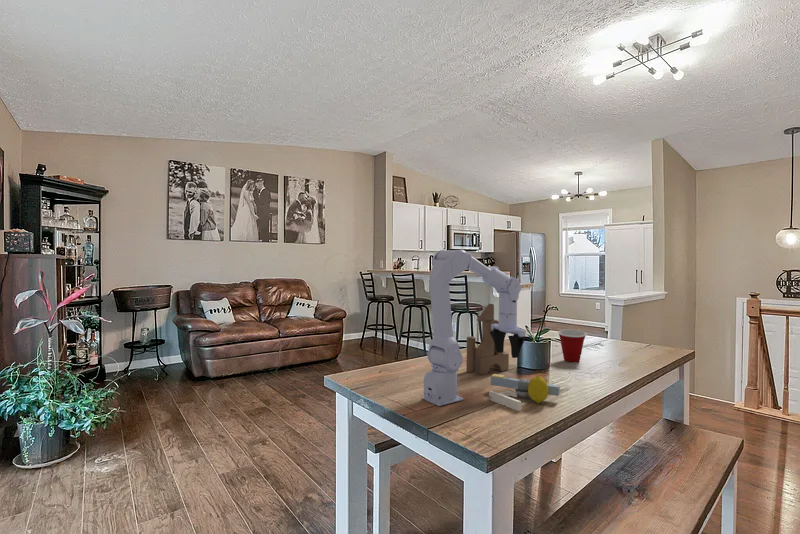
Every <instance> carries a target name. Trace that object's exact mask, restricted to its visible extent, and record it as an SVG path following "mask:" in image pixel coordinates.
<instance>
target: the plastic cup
mask: <svg viewBox="0 0 800 534" xmlns="http://www.w3.org/2000/svg"><path fill="white" fill-rule="evenodd" d="M557 333H558V335H559V340H560V344H561V351H562V356H563V360H565V362H566V361H567V363H570V362H578V363H580V360H581V357H582V352H583V347H584V341H585V338H586V336H587V334H588V333H586V332H585V331H583V330H578V329H561V330H558V331H557Z"/></svg>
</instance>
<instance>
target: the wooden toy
mask: <svg viewBox="0 0 800 534" xmlns="http://www.w3.org/2000/svg"><path fill="white" fill-rule="evenodd" d="M494 312H495V304H493V303H488V304H487V306H486V307H485V308H484V309H483V311H482V312H481V314H480V315H479V316H478V318H477V319H476V321H477V322H481V323H482V325H481V326H482V327H481V328H482V329H481V333H482V334H481V337H482V338H481V341H480V344H479V345H478V346H476V341H477V340H476V339H477V338H476V337H475V336H472V335H469V336H467V337H466V368H465V369H466V373H469V374H472V373H473V374H476V375H479V376H482V375H484V376H485V375H488V374H489V370H490V369H494V370H497V371H499V372H505V370H506V371H509V369H510V368H509V365H510V363H509V362H510V361H509V360H510V357H509V356H510V354H509V353H508V352H506V351H505V350H504V349H505V347H504V348H503V352H502V353H497V351H496V347H495V343H494V340H493V338H492V336H491V334H490V332H491V331H494V330H491V324H499V319H498V320H497V319H495V313H494Z"/></svg>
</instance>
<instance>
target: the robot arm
mask: <svg viewBox="0 0 800 534" xmlns="http://www.w3.org/2000/svg"><path fill="white" fill-rule="evenodd" d="M431 263H432V264H431V270H430V273H429V276H428V277H429V279H428V280H429V290H430V300H431V301H430V303H431V314H432V327H433V338H432V339H430V340H429V342H428V351H427V359H428V361H429V363H430V364H431V365H430V366H431V370H430V371H427V372H426V373H425V374H424V377H423V396H422V397H421V399H422V400H425V401H427V402H428V403H431V404H433V405H435V406H437V407H441V406H445V405H449V404H452V403H456V402H460V401H464V398H463V397H462V396H460V395H458V371H459V369H460V368H461V366H462V364H463V360H464V359H463V358H464V356H463V354H462V351H461V350H460V344H459V342H458V341H457V339H456V338H455V337H454V333H453V331H454V330H453V320H452V319H453V318H452V305H451V294H450V282H451V281H452V280H453V279H454V278H455V277H457V276H459V275H460V274H461V273H463V272H465V271H466V270H468V271H470V272H472V273H474V274H475V275H478V276H480V277H481V278H482V282H483V283H484V284H487V285H489V286H490V287H491V288H494V289H495V292H496V293H497V294H498V322H499V324H491V330H494V331H491V332H490V334H491V336H492V338H493V340H494V343H495V347H496V351H497V353H502V352H503V348H504V349H505V344H504V343H505V338H506V335H507V334H509V335H508V340H509V343H510V344H509V345H510V352H511V355H510V356H511V358H513V359H515V358H517V359H518V358H519V356H520V352H521V349H522V346H523V344H524V342H525V341H526V339H527V336H526V329H523V328H520V326H518V325H517V323H518V319H517V318H518V314H517V313H518V300H519V295H520V293H521V290H522V285H521V282H520V280H518V278H517V277H515V276H514V277H513V276H510V275H509V274H508V273H507V272H503V271H502V270H499V269H500V267H499V266H496V265H495V266H494V265H493V266H492V265H491V266H487V265H485V264H483V263H482V262H481V261H479V260H478V259H476V258H475V257H473V256H472V253H470V252H468V251H466V250H464V249H456V250H455V249H453V250H452V249H451V250H447V249H440V250H438V251H437V252H436V253H435V254H434V255H433V257H431ZM510 334H511V335H510Z"/></svg>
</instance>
